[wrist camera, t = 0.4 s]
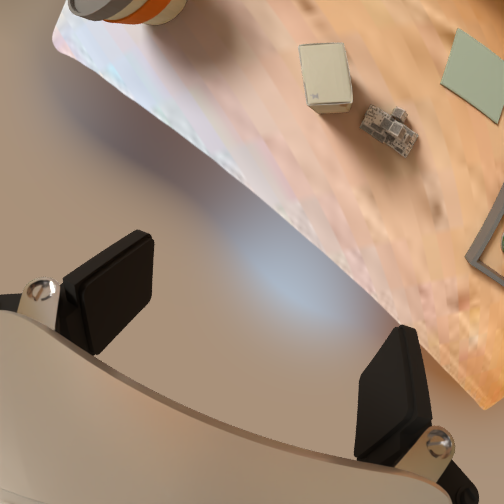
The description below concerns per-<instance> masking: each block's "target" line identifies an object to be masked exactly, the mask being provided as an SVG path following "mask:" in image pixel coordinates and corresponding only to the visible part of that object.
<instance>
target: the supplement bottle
mask: <svg viewBox="0 0 504 504" xmlns="http://www.w3.org/2000/svg"><path fill="white" fill-rule="evenodd" d="M501 248H502V251H503V252H504V232H503V234H502V237H501Z"/></svg>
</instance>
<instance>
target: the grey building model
mask: <svg viewBox="0 0 504 504" xmlns="http://www.w3.org/2000/svg"><path fill="white" fill-rule="evenodd" d="M392 116H394V117H395V118H397V119H398V120H397V119H396V120H394V118H393V117H392ZM407 116H408V114H407V113H406V111H405V110H403V109H401V108H399V107H396V108H394V110H393V112H392V114H391V115H389V114H387V113H386V112H384V111H383V110H381V109H380V108H377V107H375V106H373V105H372V104H371V105H370V107H369V108H368V110H367V112H366V114H365V116H364V117H365V118H364V120H363V121H362V124H361V126H360V127H359V128H360V129H362V130H364V131H365V132H367V133H368V134H370V135H372V137H374V138H375V139H377V140H378V141H380V142H381V143H385V144H387V145H388V146H390V147H392V148H393V149H394V150H395V151H397V152H398V153H399V154H401V155H402V156H403V157H404V158H406V157H407V156H408V154H409V152H410V151H411V149H412V146H413V145H414V143H415V141H416V139H417V137H418V134H416V133H415V132H413V131H412V130H411V129H409V128H407V126H406V125H404V124H403V123H404V121H405V119H406V118H407ZM399 120H400V121H399ZM402 122H403V123H402ZM373 131H374V132H373Z"/></svg>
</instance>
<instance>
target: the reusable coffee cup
mask: <svg viewBox="0 0 504 504" xmlns="http://www.w3.org/2000/svg"><path fill="white" fill-rule="evenodd" d="M186 2H187V0H68V6H69V9H70V11H71V12H72V13H73V14H75V15H77V16H80V17H83V18H86V19H89V20H92V21H101V20H104V21H106V22H110V23H122V24H141V23H143V24H150V25H160V24H164V23H166V22H168V21H170V20H172V19H173V18H175V17H176V16H177V15H178V14H179V13H180V12H181V11H182V9H183V8H184V6H185V4H186Z"/></svg>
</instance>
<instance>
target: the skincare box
mask: <svg viewBox="0 0 504 504" xmlns="http://www.w3.org/2000/svg"><path fill="white" fill-rule="evenodd" d="M298 50H299V57H300V63H301V70H302V76H303V82H304V89H305V96H306V103H307V105H308V106H309V107H310V108H311V109H313V110H314V111H315V112H316V113H318V114H320V113H345V112H349V110H350V108H351V105H352V103H353V94H352V84H351V77H350V71H349V65H348V60H347V55H346V51H345V47H344V43H313V44H302V45H299V46H298Z"/></svg>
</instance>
